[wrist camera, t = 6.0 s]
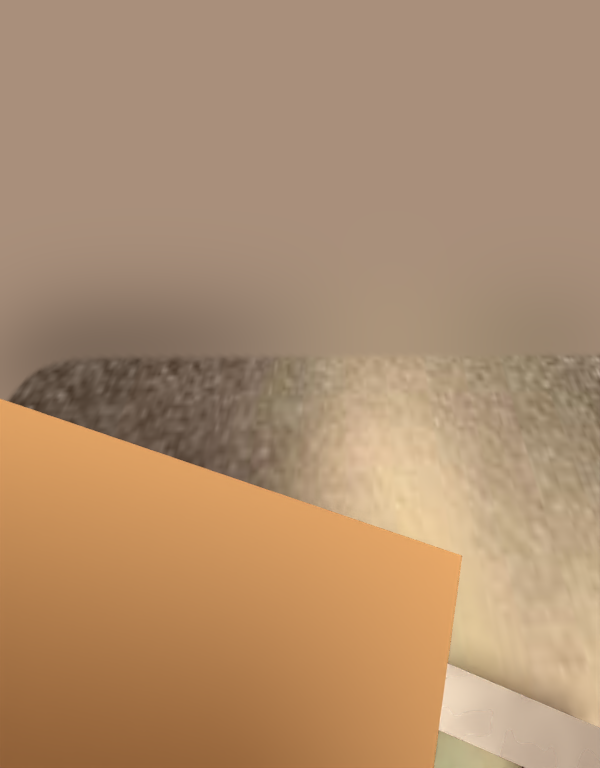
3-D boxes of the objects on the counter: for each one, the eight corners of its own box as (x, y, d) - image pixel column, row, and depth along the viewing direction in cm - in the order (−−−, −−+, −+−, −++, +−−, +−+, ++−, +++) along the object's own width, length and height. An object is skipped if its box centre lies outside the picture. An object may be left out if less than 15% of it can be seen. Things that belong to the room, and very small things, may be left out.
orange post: (240, 771, 13) (231, 2282, 1) (100, 719, 13) (-1174, 1559, 1) (286, 612, 14) (461, 556, 3) (163, 569, 15) (-120, 358, 3)
